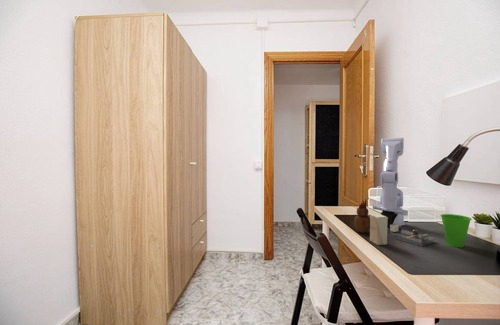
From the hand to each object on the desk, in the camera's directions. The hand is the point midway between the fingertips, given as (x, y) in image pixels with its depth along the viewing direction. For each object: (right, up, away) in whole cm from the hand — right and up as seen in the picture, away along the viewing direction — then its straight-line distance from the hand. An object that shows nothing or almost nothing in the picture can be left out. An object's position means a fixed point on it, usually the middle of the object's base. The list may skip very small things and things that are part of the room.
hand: (389, 228), depth 104 cm
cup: (+17, -3, -14) cm, 22 cm away
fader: (+1, -1, -2) cm, 2 cm away
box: (-11, -3, -11) cm, 15 cm away
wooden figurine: (-11, -3, +3) cm, 11 cm away
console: (+3, -3, -5) cm, 6 cm away
